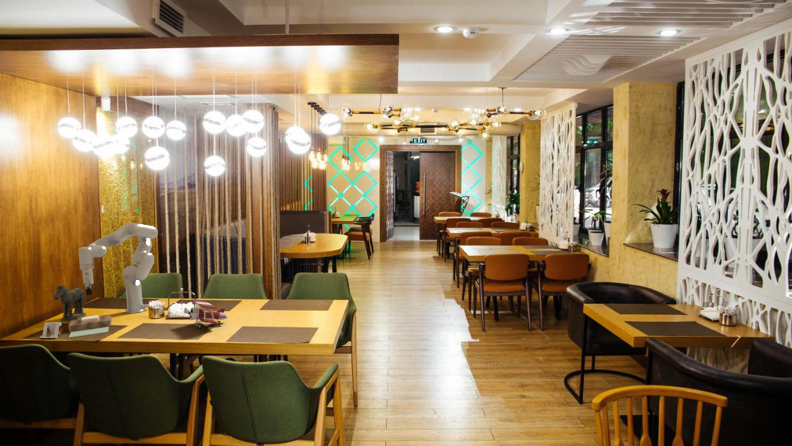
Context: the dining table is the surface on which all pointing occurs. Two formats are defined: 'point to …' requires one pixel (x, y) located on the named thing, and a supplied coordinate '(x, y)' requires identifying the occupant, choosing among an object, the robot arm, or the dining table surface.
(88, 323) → the deck
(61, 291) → the statue
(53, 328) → the portable electronic device stand
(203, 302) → the toy airplane
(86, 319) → the cream rectangular block
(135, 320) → the dining table surface
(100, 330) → the mat
